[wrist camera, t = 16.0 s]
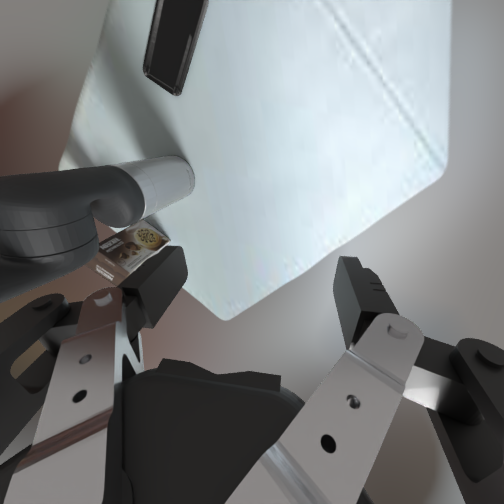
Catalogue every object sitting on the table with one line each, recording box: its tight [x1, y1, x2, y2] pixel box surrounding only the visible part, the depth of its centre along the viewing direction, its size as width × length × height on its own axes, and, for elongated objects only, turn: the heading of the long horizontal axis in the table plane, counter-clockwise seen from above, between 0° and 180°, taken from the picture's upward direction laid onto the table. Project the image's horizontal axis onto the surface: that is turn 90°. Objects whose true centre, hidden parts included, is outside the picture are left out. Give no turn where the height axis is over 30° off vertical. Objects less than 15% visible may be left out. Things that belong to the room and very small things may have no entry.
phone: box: [143, 0, 208, 96], centre depth 37 cm, size 8×1×15 cm
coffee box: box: [85, 219, 171, 286], centre depth 52 cm, size 9×6×16 cm
